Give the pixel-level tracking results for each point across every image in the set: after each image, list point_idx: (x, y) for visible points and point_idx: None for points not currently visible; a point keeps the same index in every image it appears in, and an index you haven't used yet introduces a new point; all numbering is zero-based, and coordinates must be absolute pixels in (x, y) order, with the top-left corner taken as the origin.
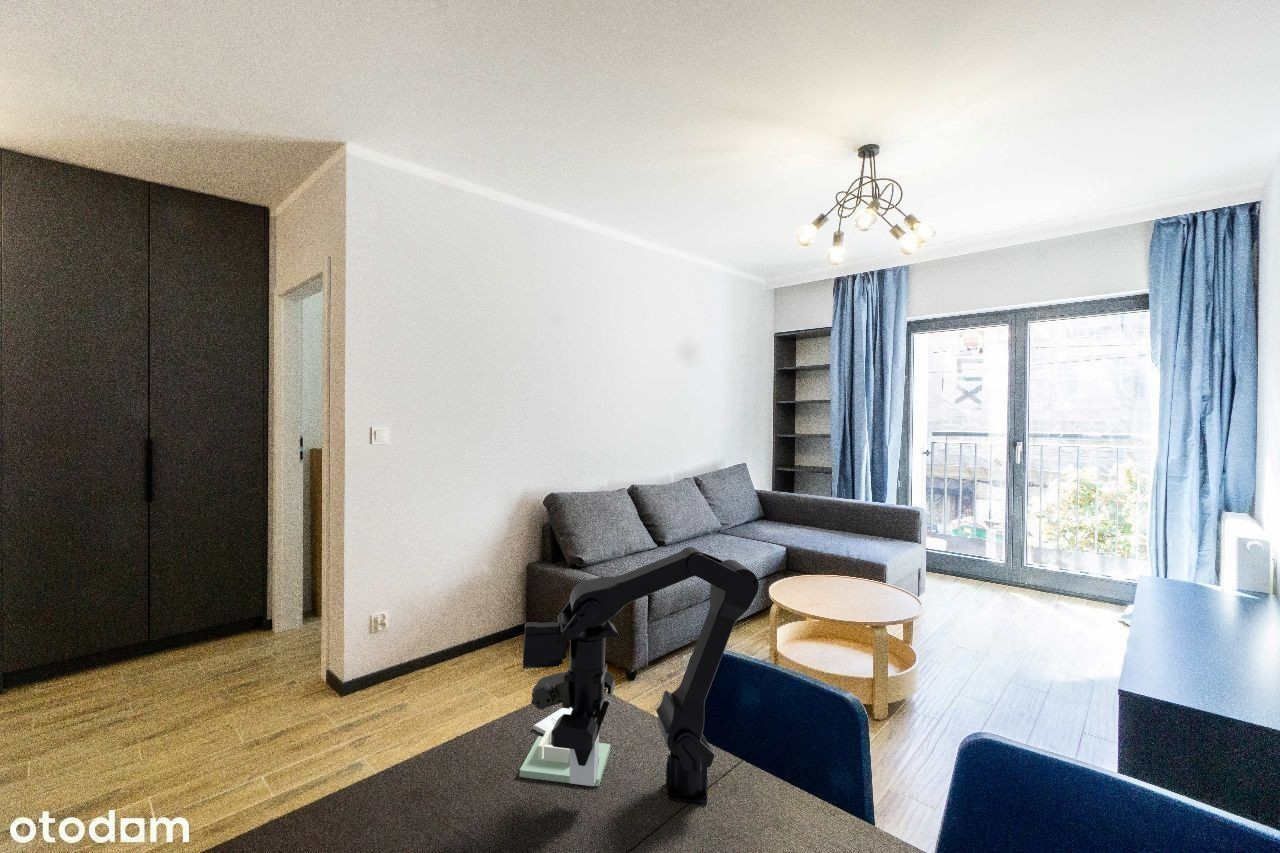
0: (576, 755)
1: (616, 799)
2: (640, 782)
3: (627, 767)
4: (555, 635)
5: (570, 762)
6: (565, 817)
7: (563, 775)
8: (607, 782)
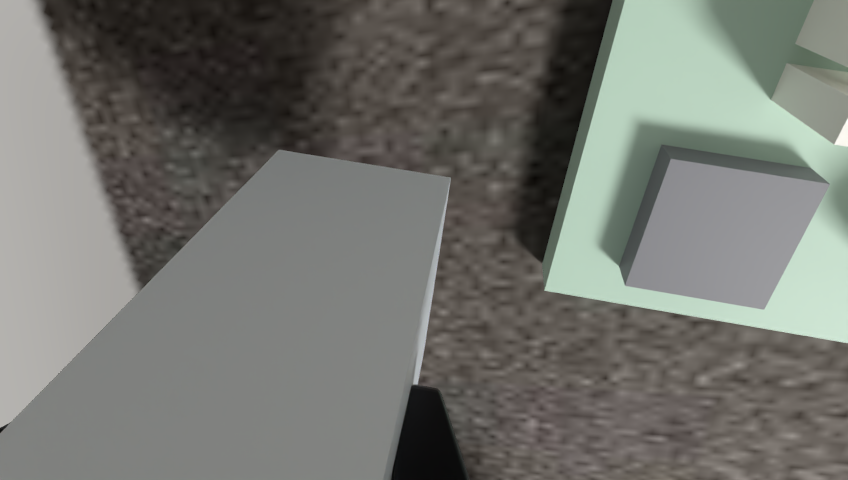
0: None
1: (433, 348)
2: (567, 454)
3: (711, 412)
4: None
5: (185, 253)
6: (252, 77)
7: (620, 20)
8: (581, 309)
